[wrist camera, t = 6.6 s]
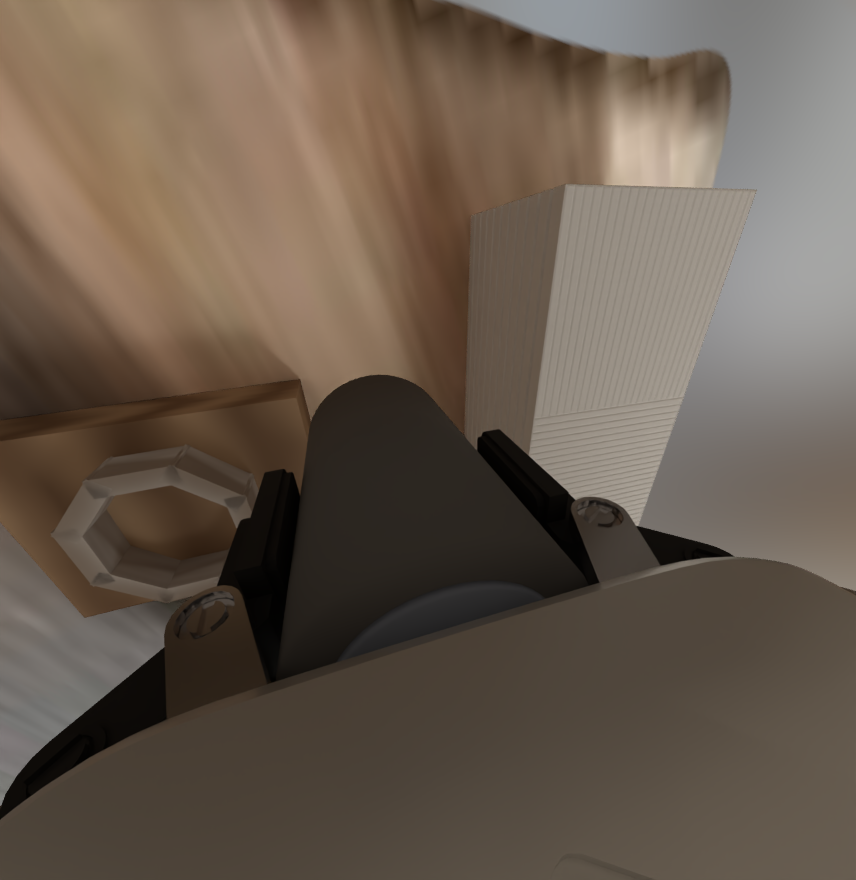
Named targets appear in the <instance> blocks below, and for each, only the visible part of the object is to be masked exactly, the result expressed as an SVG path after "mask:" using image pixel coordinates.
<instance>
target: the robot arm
mask: <svg viewBox="0 0 856 880" xmlns="http://www.w3.org/2000/svg"><path fill="white" fill-rule="evenodd" d="M477 451H478V453H479V454H480V455H481V456H482V457H483V458H484V460H485V461H486V462H487V463H488V464H489V465H490V467H491V468H492V469H493V470H494V471H495V472H496V474H497V475H498V476H499V477H500V478H501V479H502V480H503V482H504V483H505V484H506V485H507V486H508V487H509V489H510V490H511V491H512V492H513V493H514V494H515V496H516V497H517V498H518V499H519V500H520V501H521V503H522V504H523V505H524V506H525V507H526V508H527V510H528V511H529V512H530V513H531V514H532V515H533V517H534V518H535V519H536V520H537V521H538V522H539V523H540V525H541V526H542V527H543V528H544V529H545V530H546V532H547V533H548V534H549V535H550V536H551V537H552V539H553V540H554V541H555V542H556V543H557V544H558V546H559V547H560V548H561V549H562V550H563V551H564V553H565V554H566V555H567V556H568V557H569V558H570V560H571V561H572V562H573V563H574V564H575V565H576V567H577V568H578V569H579V570H580V571H581V573H582V574H583V575H584V576H585V578H586V580H587V582H588V584H589V586H587V587H583V588H580V589H577V590H573V591H570V592H567V593H563V594H560V595H556V596H553V597H550V598H546V599H543V600H540V601H536V602H533V603H530V604H526V605H523V606H519V607H516V608H513V609H510V610H506V611H503V612H500V613H496V614H493V615H490V616H486V617H483V618H480V619H477V620H473V621H470V622H467V623H463V624H460V625H457V626H454V627H450V628H447V629H444V630H440V631H437V632H434V633H431V634H427V635H424V636H421V637H417V638H414V639H411V640H408V641H404V642H401V643H398V644H395V645H391V646H388V647H385V648H382V649H378V650H375V651H372V652H369V653H366V654H362V655H359V656H356V657H353V658H349V659H346V660H343V661H340V662H337V663H333V664H330V665H327V666H324V667H320V668H317V669H314V670H311V671H307V672H304V673H301V674H298V675H295V676H291V677H288V678H285V679H282V680H279V681H276V682H275V680H276V672H277V665H278V657H279V650H280V642H281V635H282V628H283V620H284V613H285V605H286V598H287V590H288V583H289V576H290V568H291V561H292V553H293V546H294V538H295V531H296V524H297V516H298V509H299V501H300V493H299V490H298V487H297V483H296V480H295V477H294V474H293V472H288V473H287V472H286V470H285V469H279V470H274V471H269V472H265V473H264V476H263V479H262V482H261V485H260V488H259V492H258V495H257V498H256V501H255V504H254V507H253V511H252V514H251V517H250V518H246V519H242V520H241V521H240V522H239V524H238V527H237V530H236V533H235V536H234V539H233V541H232V544H231V547H230V550H229V553H228V556H227V558H226V561H225V564H224V567H223V570H222V572H221V575H220V578H219V581H218V584H217V586H216V587H212V588H209V589H206V590H204V591H201V592H200V593H198V594H196V595H194V596H193V597H191V598H190V599H188V600H187V601H186V602H185V603H183V604H182V605H181V606H180V607H179V608H178V609H177V610H176V611H175V613H174V614H173V615H172V616H171V618H170V620H169V621H168V623H167V625H166V628H165V634H164V646H165V647H164V648H163V649H162V650H160V651H159V652H158V653H157V654H156V655H154V656H153V657H152V658H151V659H150V660H148V661H147V662H146V663H145V664H143V665H142V666H141V667H140V668H139V669H137V670H136V671H135V672H134V673H132V674H131V675H130V676H129V677H128V678H126V679H125V680H124V681H123V682H122V683H120V684H119V685H118V686H117V687H115V688H114V689H113V690H112V691H111V692H109V693H108V694H107V695H106V696H104V697H103V698H102V699H101V700H100V701H98V702H97V703H96V704H95V705H94V706H92V707H91V708H90V709H89V710H87V711H86V712H85V713H84V714H83V715H81V716H80V717H79V718H78V719H76V720H75V721H74V722H73V723H72V724H70V725H69V726H68V727H67V728H66V729H64V730H63V731H62V732H61V733H59V734H58V735H57V736H56V737H55V738H53V739H52V740H51V741H50V742H49V743H47V744H46V745H45V746H44V747H43V748H42V749H41V750H40V751H39V752H38V753H37V754H36V755H35V756H33V757H32V759H31V760H30V761H29V762H28V763H27V764H26V766H25V767H24V768H23V769H22V770H21V772H20V773H19V774H18V775H17V777H16V778H15V780H14V781H13V783H12V785H11V786H10V788H9V790H8V791H7V793H6V794H5V797H4V800H3V803H2V805H1V806H0V880H856V591H853V590H850V589H847V588H843V587H839V586H837V585H836V584H834V583H832V582H829V581H828V580H826V579H824V578H822V577H820V576H818V575H816V574H814V573H812V572H810V571H807V570H805V569H802V568H800V567H797V566H794V565H791V564H787V563H782V562H777V561H772V560H766V559H758V558H745V557H734V556H733V555H731V554H730V553H728V552H726V551H724V550H721V549H720V548H717V547H714V546H711V545H708V544H704V543H701V542H697V541H693V540H689V539H685V538H681V537H678V536H674V535H670V534H666V533H662V532H658V531H654V530H651V529H647V528H643V527H639V526H636V525H635V523H634V522H633V520H632V519H631V517H630V515H629V514H628V513H627V511H626V510H625V509H624V508H623V507H621V506H620V505H618V504H617V503H615V502H612V501H610V500H608V499H604V498H600V497H583V498H580V499H577V500H575V499H574V498H573V497H572V496H571V495H570V494H569V492H568V491H567V490H566V489H565V488H564V487H562V486H561V485H560V484H559V483H558V482H557V481H556V480H555V479H554V478H553V477H552V476H550V475H549V474H548V473H547V472H546V471H545V470H544V469H543V468H542V467H541V466H539V465H538V464H537V463H536V462H535V461H534V460H533V459H532V458H531V457H530V456H528V455H527V454H526V453H525V452H524V451H523V450H522V449H521V448H520V447H519V446H518V445H516V444H515V443H514V442H513V441H512V440H511V439H510V438H509V437H508V436H507V435H505V434H504V433H503V432H502V431H501V430H500V429H496V430H490V431H485V432H483V433H482V436H480V437H478V439H477Z"/></svg>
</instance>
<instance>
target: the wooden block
mask: <svg viewBox="0 0 856 880" xmlns="http://www.w3.org/2000/svg"><path fill="white" fill-rule="evenodd" d="M310 424H311V421H310V417H309V413H308V409H307V405H306V401H305V397H304V393H303V389H302V385H301V381H300V379H298V380H291V381H284V382H277V383H269V384H262V385H255V386H247V387H240V388H233V389H225V390H218V391H211V392H204V393H196V394H189V395H182V396H174V397H167V398H160V399H152V400H145V401H138V402H131V403H123V404H116V405H109V406H101V407H94V408H87V409H79V410H72V411H65V412H58V413H50V414H43V415H36V416H28V417H21V418H14V419H6V420H0V522H1V523H2V525H3V526H4V527H5V528H6V529H7V530H8V531H9V532H10V534H11V535H12V536H13V537H14V538H15V539H16V540H17V542H18V543H19V544H20V545H21V546H22V547H23V548H24V550H25V551H26V552H27V553H28V554H29V555H30V556H31V557H32V559H33V560H34V561H35V562H36V563H37V564H38V565H39V567H40V568H41V569H42V570H43V571H44V572H45V573H46V574H47V576H48V577H49V578H50V579H51V580H52V581H53V582H54V584H55V585H56V586H57V587H58V588H59V589H60V590H61V591H62V593H63V594H64V595H65V596H66V597H67V598H68V599H69V601H70V602H71V603H72V604H73V605H74V606H75V607H76V609H77V610H78V611H79V612H80V613H81V614H82V615H83V616H84V618H85V617H89V616H93V615H98V614H102V613H106V612H110V611H114V610H118V609H122V608H126V607H130V606H134V605H138V604H142V603H146V602H150V601H154V600H156V601H161V602H164V603H169V602H172V601H176V600H180V599H184V598H188V597H192V596H194V595H196V594H198V593H200V592H201V591H204V590H206V589H209V588H212V587H216V586H217V584H218V581H219V578H220V575H221V572H222V570H223V567H224V564H225V561H226V558H227V556H228V553H229V550H230V547H231V544H232V541H233V539H234V536H235V533H236V530H237V527H238V524H239V522H240V521H241V520H242V519H246V518H250V517H251V514H252V511H253V507H254V504H255V501H256V498H257V495H258V492H259V488H260V485H261V482H262V479H263V476H264V473H265V472H269V471H274V470H279V469H285V470H286V472H287V473H288V472H293V474H294V477H295V480H296V483H297V487H298V490H299V493H300V494H301V486H302V479H303V471H304V464H305V457H306V449H307V442H308V434H309V428H310Z"/></svg>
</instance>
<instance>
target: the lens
mask: <svg viewBox="0 0 856 880" xmlns="http://www.w3.org/2000/svg"><path fill="white" fill-rule="evenodd" d="M587 586H589V584H588V582H587V580H586V578H585V576H584V575H583V574H582V573H581V571H580V570H579V569H578V568H577V567H576V565H575V564H574V563H573V562H572V561H571V560H570V558H569V557H568V556H567V555H566V554H565V553H564V551H563V550H562V549H561V548H560V547H559V546H558V544H557V543H556V542H555V541H554V540H553V539H552V537H551V536H550V535H549V534H548V533H547V532H546V530H545V529H544V528H543V527H542V526H541V525H540V523H539V522H538V521H537V520H536V519H535V518H534V517H533V515H532V514H531V513H530V512H529V511H528V510H527V508H526V507H525V506H524V505H523V504H522V503H521V501H520V500H519V499H518V498H517V497H516V496H515V494H514V493H513V492H512V491H511V490H510V489H509V487H508V486H507V485H506V484H505V483H504V482H503V480H502V479H501V478H500V477H499V476H498V475H497V474H496V472H495V471H494V470H493V469H492V468H491V467H490V465H489V464H488V463H487V462H486V461H485V460H484V458H483V457H482V456H481V455H480V454H479V453H478V451H477V450H476V449H475V448H474V447H473V446H472V444H471V443H470V442H469V441H468V440H467V439H466V438H465V436H464V435H463V434H462V433H461V432H460V431H459V429H458V428H457V427H456V426H455V425H454V424H453V422H452V421H451V420H450V419H449V418H448V417H447V415H446V414H445V413H444V412H443V411H442V410H441V408H440V407H439V406H438V405H437V404H436V403H435V401H434V400H433V399H432V398H431V397H430V396H429V395H428V394H427V393H426V392H425V391H424V390H423V389H422V388H420V387H419V386H417V385H416V384H414V383H412V382H410V381H408V380H405V379H402V378H399V377H395V376H389V375H371V376H365V377H360V378H357V379H354V380H351V381H349V382H347V383H345V384H343V385H341V386H340V387H338V388H337V389H335V390H334V391H333V392H332V393H330V394H329V395H328V396H327V397H326V398H325V399H324V401H323V402H322V403H321V404H320V406H319V407H318V409H317V410H316V412H315V414H314V416H313V418H312V421H311V424H310V428H309V434H308V442H307V449H306V457H305V464H304V471H303V479H302V486H301V494H300V501H299V509H298V516H297V524H296V531H295V538H294V546H293V553H292V561H291V568H290V576H289V583H288V590H287V598H286V605H285V613H284V620H283V628H282V635H281V642H280V650H279V657H278V665H277V672H276V680H275V682H276V681H279V680H282V679H285V678H288V677H291V676H295V675H298V674H301V673H304V672H307V671H311V670H314V669H317V668H320V667H324V666H327V665H330V664H333V663H337V662H340V661H343V660H346V659H349V658H353V657H356V656H359V655H362V654H366V653H369V652H372V651H375V650H378V649H382V648H385V647H388V646H391V645H395V644H398V643H401V642H404V641H408V640H411V639H414V638H417V637H421V636H424V635H427V634H431V633H434V632H437V631H440V630H444V629H447V628H450V627H454V626H457V625H460V624H463V623H467V622H470V621H473V620H477V619H480V618H483V617H486V616H490V615H493V614H496V613H500V612H503V611H506V610H510V609H513V608H516V607H519V606H523V605H526V604H530V603H533V602H536V601H540V600H543V599H546V598H550V597H553V596H556V595H560V594H563V593H567V592H570V591H573V590H577V589H580V588H583V587H587Z"/></svg>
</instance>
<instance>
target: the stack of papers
mask: <svg viewBox="0 0 856 880" xmlns="http://www.w3.org/2000/svg"><path fill="white" fill-rule="evenodd" d="M756 191H757V190H751V189H717V188H684V187H651V186H617V185H584V184H564V185H561V186H558V187H555V188H554V189H549V190H546V191H543V192H541V193H537V194H534V195H531V196H530V197H525V198H522V199H520V200H516V201H513V202H511V203H507V204H504V205H503V206H498V207H496V208H492V209H489V210H486V211H483V212H480V213H477V214H474V215H471V234H470V266H469V299H468V332H467V365H466V398H465V430H464V436H465V438H466V439H467V440H468V441H469V442H470V443H471V444H472V446H473V447H474V448H475V449H476V450H477V439H478V437H480V436H482V433H483V432H485V431H490V430H496V429H500V430H501V431H502V432H503V433H504V434H505V435H507V436H508V437H509V438H510V439H511V440H512V441H513V442H514V443H515V444H516V445H518V446H519V447H520V448H521V449H522V450H523V451H524V452H525V453H526V454H527V455H528V456H530V457H531V458H532V459H533V460H534V461H535V462H536V463H537V464H538V465H539V466H541V467H542V468H543V469H544V470H545V471H546V472H547V473H548V474H549V475H550V476H552V477H553V478H554V479H555V480H556V481H557V482H558V483H559V484H560V485H561V486H562V487H564V488H565V489H566V490H567V491H568V492H569V494H570V495H571V496H572V497H573V498H574V499H575V500H577V499H580V498H583V497H600V498H604V499H608V500H610V501H612V502H615V503H617V504H618V505H620V506H621V507H623V508H624V509H625V510H626V511H627V513H628V514H629V515H630V517H631V519H632V520H633V522H634V523H635V525H636V526H638V525H639V522H640V519H641V516H642V514H643V511H644V508H645V505H646V502H647V499H648V496H649V494H650V491H651V488H652V485H653V482H654V479H655V477H656V474H657V471H658V468H659V466H660V462H661V460H662V457H663V454H664V451H665V449H666V446H667V443H668V440H669V437H670V434H671V432H672V429H673V426H674V423H675V420H676V417H677V415H678V412H679V409H680V406H681V403H682V401H683V398H684V395H685V392H686V389H687V386H688V384H689V381H690V378H691V375H692V372H693V369H694V367H695V363H696V361H697V358H698V355H699V352H700V349H701V347H702V344H703V341H704V338H705V335H706V333H707V330H708V327H709V324H710V321H711V318H712V316H713V313H714V310H715V307H716V304H717V302H718V299H719V296H720V293H721V290H722V287H723V285H724V281H725V279H726V275H727V273H728V270H729V267H730V265H731V262H732V259H733V256H734V253H735V250H736V248H737V245H738V242H739V239H740V236H741V234H742V231H743V228H744V225H745V222H746V219H747V217H748V214H749V211H750V208H751V205H752V202H753V199H754V197H755V194H756Z"/></svg>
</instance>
